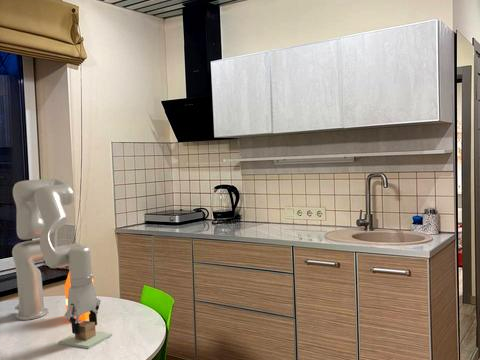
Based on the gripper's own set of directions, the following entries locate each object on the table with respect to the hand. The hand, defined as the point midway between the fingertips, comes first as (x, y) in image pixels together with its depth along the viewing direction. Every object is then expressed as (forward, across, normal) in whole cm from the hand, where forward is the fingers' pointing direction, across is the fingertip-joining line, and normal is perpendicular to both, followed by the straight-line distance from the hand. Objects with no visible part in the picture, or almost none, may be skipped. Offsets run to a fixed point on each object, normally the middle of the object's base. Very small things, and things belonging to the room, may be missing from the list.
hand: (85, 328), depth 175 cm
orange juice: (+4, -19, -20) cm, 28 cm away
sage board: (+4, 0, 0) cm, 4 cm away
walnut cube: (+3, 0, 0) cm, 3 cm away
